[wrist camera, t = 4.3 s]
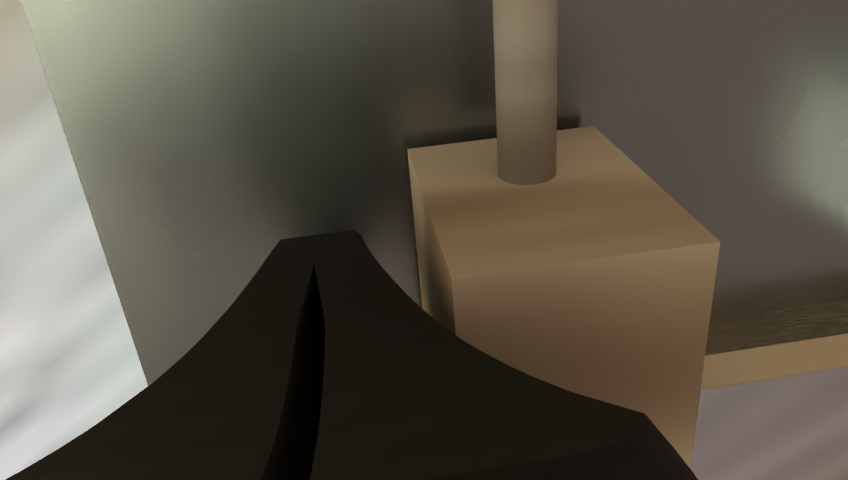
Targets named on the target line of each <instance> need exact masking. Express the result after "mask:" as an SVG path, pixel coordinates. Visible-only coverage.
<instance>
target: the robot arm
mask: <svg viewBox="0 0 848 480" xmlns="http://www.w3.org/2000/svg"><path fill="white" fill-rule="evenodd" d="M6 480H698V479H697V478H696V476H695V475H694V473H693V472H692V471H691V469H690V468H689V467H688V465H687V464H686V463H685V462H684V460H683V459H682V458H681V456H680V455H679V454H678V452H677V451H676V450H675V449H674V447H673V446H672V445H671V444H670V443H669V442H668V440H667V439H666V438H665V437H664V436H663V434H662V433H661V432H660V431H659V430H658V429H657V427H656V426H655V425H654V424H653V422H652V421H651V420H650V419H649V417H648V416H647V415H646V414H645V413H641V412H638V411H635V410H631V409H628V408H624V407H621V406H618V405H614V404H611V403H607V402H604V401H601V400H597V399H594V398H590V397H587V396H584V395H580V394H577V393H574V392H571V391H568V390H565V389H563V388H560V387H558V386H555V385H553V384H550V383H548V382H545V381H543V380H540V379H538V378H535V377H533V376H530V375H528V374H526V373H524V372H522V371H519V370H517V369H515V368H513V367H511V366H509V365H506V364H505V363H503V362H501V361H499V360H497V359H495V358H493V357H492V356H490V355H488V354H486V353H484V352H482V351H480V350H478V349H477V348H475V347H473V346H472V345H470V344H468V343H467V342H465V341H463V340H462V339H461V338H459V337H458V336H456V335H455V334H453V333H452V332H451V331H449V330H448V329H446V328H445V327H444V326H443V325H441V324H440V323H439V322H438V321H436V320H435V319H434V318H433V317H431V316H430V315H429V314H428V313H427V312H426V311H425V310H423V309H422V308H421V307H420V306H419V305H418V304H417V303H416V302H415V301H413V300H412V299H411V298H410V297H409V296H408V295H407V294H406V293H405V292H404V291H403V290H402V289H401V288H400V286H399V285H398V284H397V283H396V282H395V281H394V280H393V279H392V278H391V277H390V276H389V274H388V273H387V272H386V271H385V270H384V269H383V267H382V266H381V265H380V264H379V262H378V261H377V260H376V258H375V257H374V256H373V254H372V253H371V252H370V250H369V249H368V247H367V245H366V244H365V242H364V240H363V237H362V235H360V234H359V233H358V232H356V231H355V230H348V231H341V232H333V233H326V234H318V235H310V236H303V237H295V238H288V239H281V240H280V241H279V242H278V243H277V245H276V246H275V247H274V248H273V250H272V251H271V252H270V254H269V255H268V257H267V258H266V259H265V261H264V262H263V264H262V265H261V267H260V268H259V269H258V271H257V272H256V273H255V275H254V276H253V278H252V279H251V280H250V282H249V283H248V284H247V285H246V287H245V288H244V289H243V291H242V292H241V293H240V294H239V296H238V297H237V298H236V299H235V301H234V302H233V303H232V305H231V306H230V307H229V308H228V310H227V311H226V312H225V313H224V314H223V315H222V316H221V317H220V318H219V320H218V321H217V322H216V323H215V324H214V325H213V326H212V327H211V328H210V330H209V331H208V332H207V333H206V334H205V335H204V336H203V337H202V338H201V339H200V340H199V341H198V342H197V343H196V344H195V345H194V346H193V347H192V348H191V349H190V350H189V351H188V352H187V353H186V354H185V355H184V356H183V357H182V358H181V359H179V360H178V361H177V362H176V363H175V364H174V365H173V366H171V367H170V368H169V369H168V370H167V371H166V372H165V373H163V374H162V375H161V376H160V377H159V378H158V379H157V380H155V381H154V382H153V383H152V384H150V385H149V386H148V387H147V388H145V389H144V390H143V391H141V392H140V393H139V394H137V395H136V396H135V397H133V398H132V399H130V400H129V401H128V402H126V403H125V404H124V405H122V406H121V407H120V408H118V409H117V410H115V411H114V412H113V413H111V414H110V415H109V416H107V417H106V418H105V419H103V420H102V421H101V422H99V423H98V424H96V425H95V426H93V427H92V428H90V429H89V430H88V431H86V432H84V433H83V434H81V435H80V436H78V437H77V438H75V439H73V440H72V441H70V442H69V443H67V444H66V445H64V446H62V447H61V448H59V449H58V450H56V451H54V452H53V453H51V454H49V455H48V456H46V457H44V458H43V459H41V460H39V461H38V462H36V463H34V464H32V465H31V466H29V467H27V468H26V469H24V470H22V471H21V472H19V473H17V474H15V475H13V476H12V477H10V478H8V479H6Z"/></svg>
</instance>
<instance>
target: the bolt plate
mask: <svg viewBox="0 0 848 480" xmlns="http://www.w3.org/2000/svg"><path fill="white" fill-rule="evenodd" d="M21 3H22V6H23V9H24V12H25V15H26V18H27V21H28V24H29V27H30V30H31V33H32V36H33V39H34V42H35V45H36V48H37V51H38V54H39V57H40V60H41V63H42V66H43V69H44V72H45V75H46V78H47V81H48V84H49V87H50V90H51V93H52V96H53V99H54V102H55V105H56V109H57V112H58V115H59V118H60V121H61V124H62V127H63V130H64V133H65V136H66V139H67V142H68V145H69V148H70V151H71V154H72V157H73V160H74V163H75V166H76V169H77V172H78V175H79V178H80V181H81V184H82V187H83V190H84V193H85V196H86V199H87V202H88V205H89V208H90V211H91V214H92V217H93V220H94V223H95V226H96V229H97V232H98V235H99V238H100V241H101V244H102V247H103V250H104V253H105V256H106V259H107V262H108V265H109V268H110V271H111V274H112V277H113V280H114V283H115V286H116V289H117V292H118V296H119V299H120V302H121V305H122V308H123V311H124V314H125V317H126V320H127V323H128V326H129V329H130V332H131V335H132V338H133V341H134V344H135V347H136V350H137V353H138V356H139V359H140V362H141V365H142V368H143V371H144V374H145V377H146V380H147V383H148V386H149V385H150V384H152V383H153V382H154V381H155V380H157V379H158V378H159V377H160V376H161V375H162V374H163V373H165V372H166V371H167V370H168V369H169V368H170V367H171V366H173V365H174V364H175V363H176V362H177V361H178V360H179V359H181V358H182V357H183V356H184V355H185V354H186V353H187V352H188V351H189V350H190V349H191V348H192V347H193V346H194V345H195V344H196V343H197V342H198V341H199V340H200V339H201V338H202V337H203V336H204V335H205V334H206V333H207V332H208V331H209V330H210V328H211V327H212V326H213V325H214V324H215V323H216V322H217V321H218V320H219V318H220V317H221V316H222V315H223V314H224V313H225V312H226V311H227V310H228V308H229V307H230V306H231V305H232V303H233V302H234V301H235V299H236V298H237V297H238V296H239V294H240V293H241V292H242V291H243V289H244V288H245V287H246V285H247V284H248V283H249V282H250V280H251V279H252V278H253V276H254V275H255V273H256V272H257V271H258V269H259V268H260V267H261V265H262V264H263V262H264V261H265V259H266V258H267V257H268V255H269V254H270V252H271V251H272V250H273V248H274V247H275V246H276V245H277V243H278V242H279V241H280V240H281V239H288V238H295V237H303V236H310V235H318V234H326V233H333V232H341V231H348V230H355V231H356V232H358V233H359V234H360V235H362V237H363V240H364V242H365V244H366V245H367V247H368V249H369V250H370V252H371V253H372V254H373V256H374V257H375V258H376V260H377V261H378V262H379V264H380V265H381V266H382V267H383V269H384V270H385V271H386V272H387V273H388V274H389V276H390V277H391V278H392V279H393V280H394V281H395V282H396V283H397V284H398V285H399V286H400V288H401V289H402V290H403V291H404V292H405V293H406V294H407V295H408V296H409V297H410V298H411V299H412V300H413V301H415V302H416V303H417V304H418V305H419V306H420V307H421V308H422V299H421V289H420V278H419V268H418V257H417V246H416V236H415V225H414V214H413V204H412V193H411V183H410V172H409V161H408V151H407V149H412V148H420V147H428V146H436V145H444V144H452V143H460V142H468V141H476V140H484V139H492V138H497V124H496V92H495V60H494V28H493V0H21ZM589 126H594V127H595V128H597V129H598V130H599V131H600V132H601V133H602V134H603V135H604V136H605V137H606V138H608V139H609V140H610V141H611V142H612V143H613V144H614V145H615V146H616V147H617V148H618V149H620V150H621V151H622V152H623V153H624V154H625V155H626V156H627V157H628V158H629V159H630V160H632V161H633V162H634V163H635V164H636V165H637V166H638V167H639V168H640V169H641V170H643V171H644V172H645V173H646V174H647V175H648V176H649V177H650V178H651V179H652V180H653V181H655V182H656V183H657V184H658V185H659V186H660V187H661V188H662V189H663V190H664V191H665V192H667V193H668V194H669V195H670V196H671V197H672V198H673V199H674V200H675V201H676V202H678V203H679V204H680V205H681V206H682V207H683V208H684V209H685V210H686V211H687V212H688V213H690V214H691V215H692V216H693V217H694V218H695V219H696V220H697V221H698V222H699V223H700V224H702V225H703V226H704V227H705V228H706V229H707V230H708V231H709V232H710V233H711V234H713V235H714V236H715V237H716V238H717V239H718V240H719V241H720V248H719V255H718V263H717V270H716V278H715V285H714V292H713V300H712V307H711V315H710V322H709V330H708V337H707V344H706V352H705V359H704V367H703V374H702V382H701V389H700V390H703V389H709V388H716V387H722V386H728V385H734V384H741V383H747V382H753V381H760V380H766V379H772V378H778V377H785V376H791V375H797V374H804V373H810V372H816V371H822V370H829V369H835V368H841V367H848V0H558V53H557V130H565V129H573V128H581V127H589Z"/></svg>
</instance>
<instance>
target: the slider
mask: <svg viewBox="0 0 848 480" xmlns="http://www.w3.org/2000/svg"><path fill="white" fill-rule="evenodd" d="M493 28H494V60H495V92H496V124H497V138H492V139H484V140H476V141H468V142H460V143H452V144H444V145H436V146H428V147H420V148H412V149H407V151H408V161H409V172H410V183H411V193H412V204H413V214H414V225H415V236H416V246H417V257H418V268H419V278H420V289H421V299H422V309H423V310H425V311H426V312H427V313H428V314H429V315H430V316H431V317H433V318H434V319H435V320H436V321H438V322H439V323H440V324H441V325H443V326H444V327H445V328H446V329H448V330H449V331H451V332H452V333H453V334H455V335H456V336H458V337H459V338H461V339H462V340H463V341H465V342H467V343H468V344H470V345H472V346H473V347H475V348H477V349H478V350H480V351H482V352H484V353H486V354H488V355H490V356H492V357H493V358H495V359H497V360H499V361H501V362H503V363H505V364H506V365H509V366H511V367H513V368H515V369H517V370H519V371H522V372H524V373H526V374H528V375H530V376H533V377H535V378H538V379H540V380H543V381H545V382H548V383H550V384H553V385H555V386H558V387H560V388H563V389H565V390H568V391H571V392H574V393H577V394H580V395H584V396H587V397H590V398H594V399H597V400H601V401H604V402H607V403H611V404H614V405H618V406H621V407H624V408H628V409H631V410H635V411H638V412H641V413H645V414H646V415H647V416H648V417H649V419H650V420H651V421H652V422H653V424H654V425H655V426H656V427H657V429H658V430H659V431H660V432H661V433H662V434H663V436H664V437H665V438H666V439H667V440H668V442H669V443H670V444H671V445H672V446H673V447H674V449H675V450H676V451H677V452H678V454H679V455H680V456H681V458H682V459H683V460H684V462H685V463H686V464H687V465H688V467H689V468H690V463H691V456H692V448H693V441H694V434H695V426H696V419H697V411H698V404H699V396H700V389H701V382H702V374H703V367H704V359H705V352H706V344H707V337H708V330H709V322H710V315H711V307H712V300H713V292H714V285H715V278H716V270H717V263H718V255H719V248H720V241H719V240H718V239H717V238H716V237H715V236H714V235H713V234H711V233H710V232H709V231H708V230H707V229H706V228H705V227H704V226H703V225H702V224H700V223H699V222H698V221H697V220H696V219H695V218H694V217H693V216H692V215H691V214H690V213H688V212H687V211H686V210H685V209H684V208H683V207H682V206H681V205H680V204H679V203H678V202H676V201H675V200H674V199H673V198H672V197H671V196H670V195H669V194H668V193H667V192H665V191H664V190H663V189H662V188H661V187H660V186H659V185H658V184H657V183H656V182H655V181H653V180H652V179H651V178H650V177H649V176H648V175H647V174H646V173H645V172H644V171H643V170H641V169H640V168H639V167H638V166H637V165H636V164H635V163H634V162H633V161H632V160H630V159H629V158H628V157H627V156H626V155H625V154H624V153H623V152H622V151H621V150H620V149H618V148H617V147H616V146H615V145H614V144H613V143H612V142H611V141H610V140H609V139H608V138H606V137H605V136H604V135H603V134H602V133H601V132H600V131H599V130H598V129H597V128H595V127H594V126H589V127H581V128H573V129H565V130H557V53H558V0H493Z"/></svg>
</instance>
